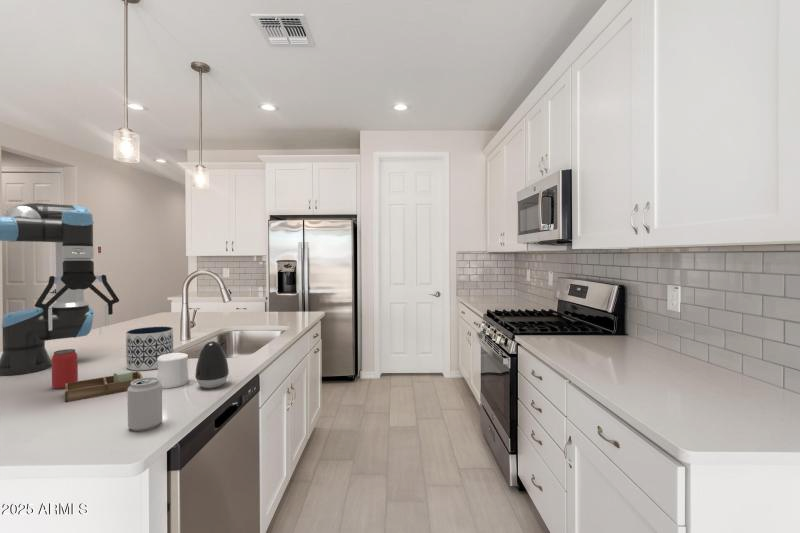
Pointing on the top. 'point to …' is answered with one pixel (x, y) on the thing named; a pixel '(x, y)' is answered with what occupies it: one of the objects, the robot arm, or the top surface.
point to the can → (144, 403)
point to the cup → (172, 370)
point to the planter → (147, 347)
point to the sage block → (123, 376)
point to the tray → (96, 387)
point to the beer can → (64, 368)
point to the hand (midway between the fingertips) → (79, 327)
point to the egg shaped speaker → (212, 366)
